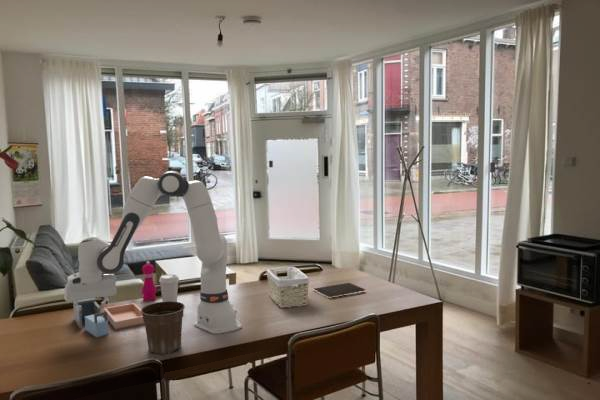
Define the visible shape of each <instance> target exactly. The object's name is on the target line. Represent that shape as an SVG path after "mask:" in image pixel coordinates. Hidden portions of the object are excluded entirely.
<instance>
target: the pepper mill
mask: <svg viewBox="0 0 600 400" xmlns="http://www.w3.org/2000/svg"><path fill="white" fill-rule="evenodd" d="M145 263H146V264H144V265H142V268H141V271H142V272H143V278H144V280H143V282H144V283H143V285H142V288H141V294H142V295H143V297H142V300H143V301H145V302H150V301H155V300H156V299H157V298H156V297H157V296H156V294H157V287H156V285H155V282H154V275H155V274H154V272H155V267H154V265H153V264H151V261H149V260H147V261H146V262H145Z"/></svg>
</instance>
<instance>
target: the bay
mask: <svg viewBox="0 0 600 400" xmlns="http://www.w3.org/2000/svg"><path fill="white" fill-rule="evenodd" d="M72 304H73V319H74V322H75V323H76V325H77V326H78V328H79V330H82V329H83V319H85V316H89V315H93V314H98V313H102V312H101V305H99V304H98V302H97V301H96V298H91V299H84V300H78V303H77V304H78V305H81V306H82V308H81V309H82V310H80V311H78V310H77V306H76V304H75V303H74V301H72Z"/></svg>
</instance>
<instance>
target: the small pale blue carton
mask: <svg viewBox="0 0 600 400" xmlns="http://www.w3.org/2000/svg"><path fill="white" fill-rule="evenodd" d="M84 327H85V329H84V330H85V331H86V332H88V333H89V334H91V335H92V336H94V337H95V338H99V337H104V336H107V335H109V321H108V320H107V312H104V311H103V312H101V313H98V314H93V315H89V316H85V318H84Z"/></svg>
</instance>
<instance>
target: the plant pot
mask: <svg viewBox="0 0 600 400" xmlns="http://www.w3.org/2000/svg"><path fill="white" fill-rule="evenodd" d="M185 308H186V306H185V304H184V303H182V302H180V301H177V302H175V301H166V302H162V301H158V302H153V303H150V304H147V305H144V306H143V307H142V308H140V309H141V313H142V315H143V321H144V322H145V324H144V328H145V332H146V333H145V335H146V341H147V349H148V351H149V353H154V354H155V355H165V354H171V353H173V352H175V351H176V350H179V349H180V348H181V346H182V332H183V331H182V329H183V317H184V310H185Z"/></svg>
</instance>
